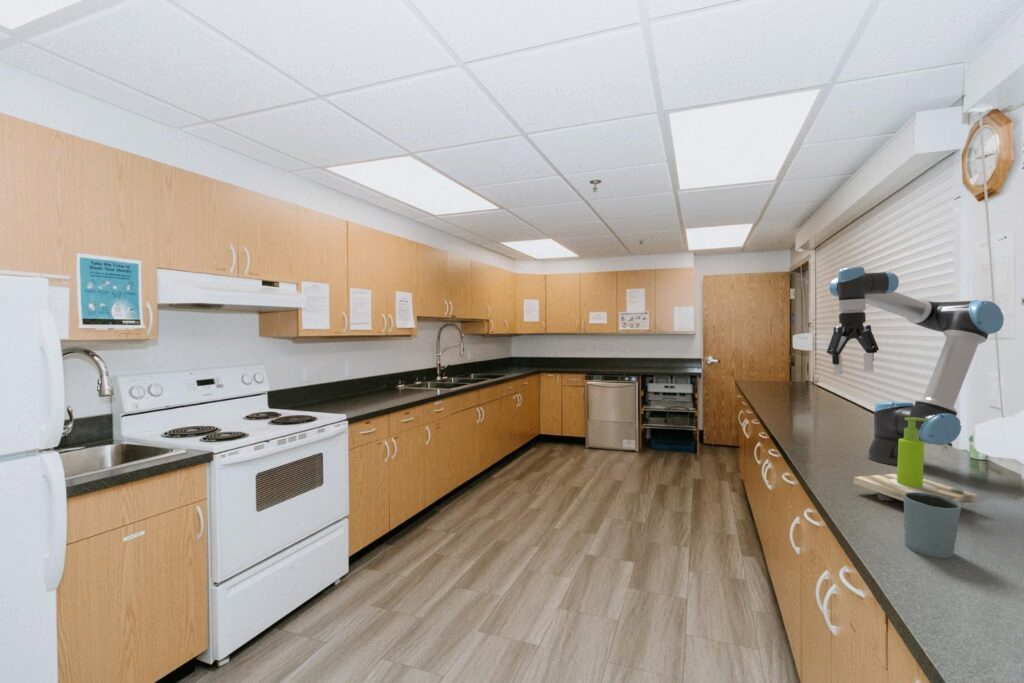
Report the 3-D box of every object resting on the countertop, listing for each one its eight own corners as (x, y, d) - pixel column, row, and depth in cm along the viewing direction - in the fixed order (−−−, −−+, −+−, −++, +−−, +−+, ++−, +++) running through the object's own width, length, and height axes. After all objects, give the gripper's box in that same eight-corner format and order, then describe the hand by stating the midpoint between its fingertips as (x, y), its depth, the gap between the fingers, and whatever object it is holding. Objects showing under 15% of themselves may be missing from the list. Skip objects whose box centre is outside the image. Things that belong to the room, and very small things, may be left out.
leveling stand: (904, 488, 153) (905, 471, 153) (976, 512, 133) (977, 492, 133) (853, 492, 149) (853, 475, 148) (920, 518, 129) (920, 497, 129)
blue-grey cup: (901, 536, 118) (903, 488, 118) (957, 548, 112) (959, 498, 111) (902, 551, 110) (903, 500, 110) (961, 565, 104) (963, 511, 103)
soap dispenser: (931, 488, 138) (934, 420, 137) (904, 486, 139) (906, 419, 138) (918, 481, 143) (920, 416, 143) (892, 480, 145) (894, 415, 144)
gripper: (869, 311, 172) (870, 369, 172) (813, 313, 166) (815, 374, 166) (890, 310, 164) (891, 371, 165) (833, 312, 158) (834, 375, 159)
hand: (853, 372), depth 166 cm, fingers open, 13 cm apart
